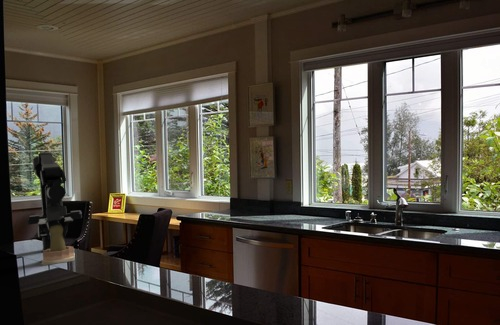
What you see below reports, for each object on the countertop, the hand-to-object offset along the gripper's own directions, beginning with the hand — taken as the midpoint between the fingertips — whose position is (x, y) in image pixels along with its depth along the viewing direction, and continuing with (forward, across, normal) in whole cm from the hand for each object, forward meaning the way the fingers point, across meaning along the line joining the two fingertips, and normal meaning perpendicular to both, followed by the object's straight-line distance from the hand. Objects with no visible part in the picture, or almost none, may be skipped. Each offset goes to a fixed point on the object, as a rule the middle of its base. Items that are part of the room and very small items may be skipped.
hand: (57, 239), depth 164 cm
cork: (+6, 0, 0) cm, 6 cm away
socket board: (+8, 0, 0) cm, 8 cm away
